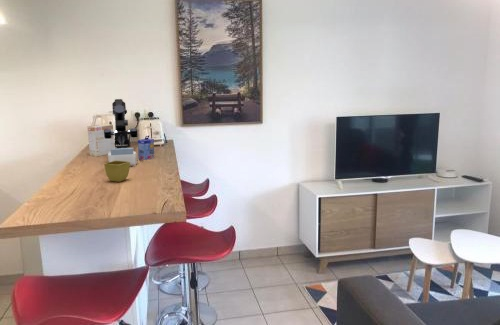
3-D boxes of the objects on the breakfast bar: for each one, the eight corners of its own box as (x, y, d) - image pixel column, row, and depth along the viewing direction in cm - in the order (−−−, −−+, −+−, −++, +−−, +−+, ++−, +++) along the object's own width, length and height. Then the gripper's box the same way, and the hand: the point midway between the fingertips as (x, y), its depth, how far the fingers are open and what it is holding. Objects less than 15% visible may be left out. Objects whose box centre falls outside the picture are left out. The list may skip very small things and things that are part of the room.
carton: (109, 162, 243) (108, 152, 242) (135, 161, 248) (135, 150, 246) (108, 166, 231) (108, 155, 230) (136, 165, 236) (136, 153, 235)
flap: (111, 154, 230) (110, 148, 224) (133, 153, 234) (133, 147, 228) (111, 155, 230) (110, 149, 224) (133, 154, 233) (133, 148, 227)
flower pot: (131, 179, 201) (130, 161, 199) (120, 183, 193) (119, 164, 191) (116, 178, 204) (115, 160, 202) (104, 182, 196) (103, 163, 194)
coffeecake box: (109, 152, 280) (106, 124, 276) (115, 153, 276) (113, 124, 272) (89, 155, 268) (86, 126, 264) (95, 156, 264) (93, 126, 260)
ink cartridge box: (145, 160, 250) (144, 136, 247) (138, 159, 252) (136, 136, 250) (155, 157, 259) (153, 134, 256) (147, 157, 261) (146, 134, 259)
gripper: (102, 115, 236) (103, 137, 228) (136, 114, 241) (138, 135, 233) (104, 127, 245) (105, 148, 237) (136, 126, 250) (138, 147, 242)
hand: (121, 144), depth 237 cm, fingers closed
